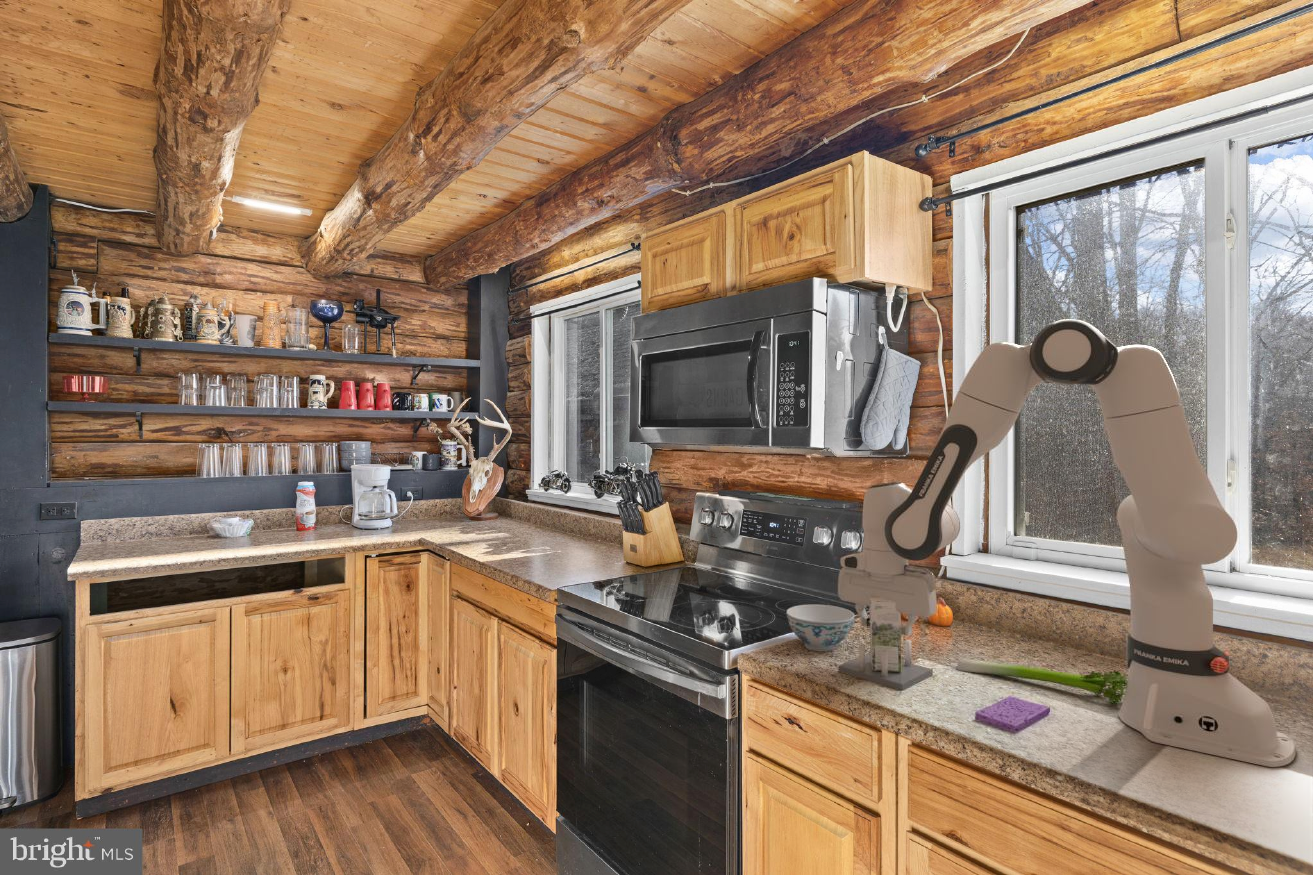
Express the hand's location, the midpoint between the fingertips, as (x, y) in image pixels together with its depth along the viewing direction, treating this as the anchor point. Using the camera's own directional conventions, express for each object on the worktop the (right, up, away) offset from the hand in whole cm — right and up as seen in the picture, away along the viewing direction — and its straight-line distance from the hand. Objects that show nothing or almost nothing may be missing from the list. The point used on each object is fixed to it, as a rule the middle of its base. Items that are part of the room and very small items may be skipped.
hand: (885, 630), depth 141 cm
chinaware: (-9, -9, +18) cm, 22 cm away
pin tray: (0, -9, 0) cm, 9 cm away
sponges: (+15, -10, -21) cm, 28 cm away
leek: (+27, -9, -7) cm, 30 cm away
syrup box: (0, -8, 0) cm, 8 cm away
